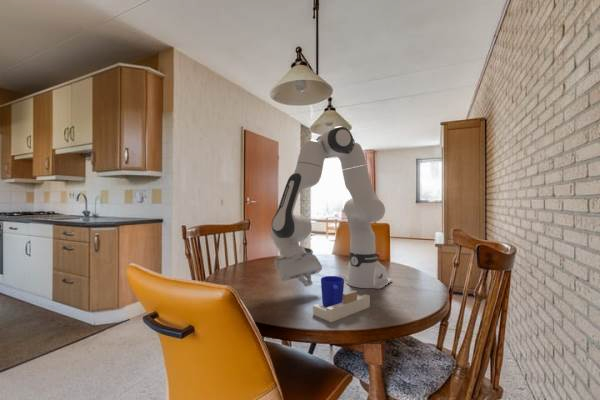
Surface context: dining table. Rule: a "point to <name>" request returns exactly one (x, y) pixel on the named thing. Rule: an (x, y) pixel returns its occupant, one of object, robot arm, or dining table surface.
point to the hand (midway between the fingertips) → (309, 285)
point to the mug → (332, 290)
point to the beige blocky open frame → (343, 307)
